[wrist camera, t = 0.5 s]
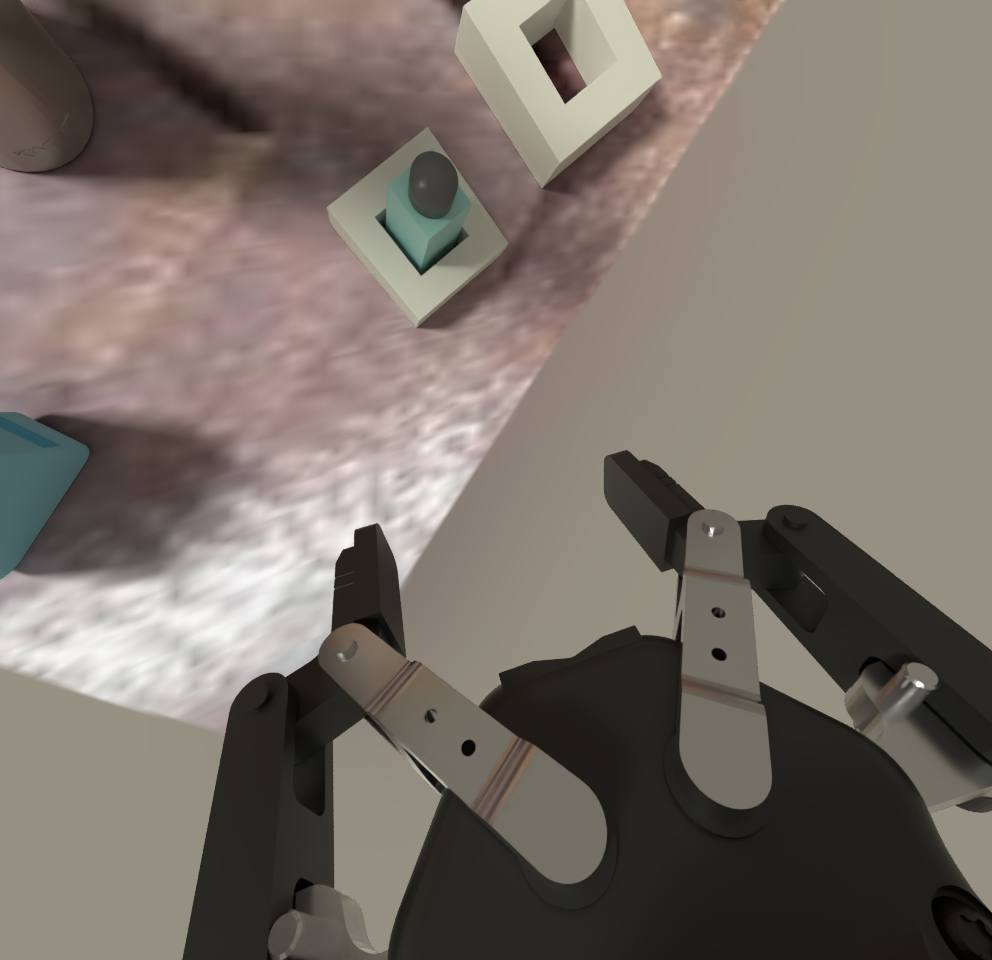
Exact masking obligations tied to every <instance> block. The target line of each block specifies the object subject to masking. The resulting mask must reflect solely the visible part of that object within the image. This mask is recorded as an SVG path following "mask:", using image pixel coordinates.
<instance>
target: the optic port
mask: <svg viewBox="0 0 992 960" xmlns="http://www.w3.org/2000/svg"><path fill="white" fill-rule="evenodd" d="M553 28H555V30H556V32H557V33H558V35H559V37H560V39H561V41H562V42H563V44H564V46H565V48H566V49H567V51H568V53H569V55H570V57H571V58H572V60H573V62H574V64H575V65H576V67H577V69H578V71H579V73H580V74H581V76H582V78H583V80H584V82H585V83H586V85H587V87H586V88H585V89H583V90H582V91H581V92H580V93H579V94H577V95H576V96H575V97H574V98H572V99H571V100H570V101H569V102H568V103H566V104H564V102H563V100H562V99H561V97H560V95H559V94H558V92H557V90H556V88H555V87H554V85H553V83H552V82H551V80H550V78H549V76H548V75H547V73H546V71H545V70H544V68H543V66H542V65H541V63H540V61H539V59H538V58H537V56H536V54H535V53H534V51H533V49H532V47H531V46H532V45H533V44H535V43H536V42H537V41H538V40H540V39H541V38H542V37H543V36H545V35H546V34H547V33H548V32H550V31H551V30H552V29H553ZM454 53H455V55H456V56H457V58H458V59H459V61H460V62H461V64H462V66H463V67H464V69H465V70H466V72H467V73H468V75H469V77H470V78H471V80H472V81H473V83H474V84H475V86H476V87H477V89H478V91H479V92H480V94H481V95H482V97H483V98H484V100H485V101H486V103H487V105H488V106H489V108H490V109H491V111H492V112H493V114H494V115H495V117H496V119H497V120H498V122H499V123H500V125H501V126H502V128H503V129H504V131H505V133H506V134H507V136H508V137H509V139H510V140H511V142H512V144H513V145H514V147H515V148H516V150H517V151H518V153H519V154H520V156H521V158H522V159H523V161H524V162H525V164H526V165H527V167H528V168H529V170H530V172H531V173H532V175H533V176H534V178H535V179H536V181H537V182H538V184H539V186H540V187H541V189H542V188H543V187H544V186H546V185H547V184H548V183H549V182H550V181H551V180H553V179H554V178H555V177H556V176H557V175H558V174H560V173H561V172H562V171H563V170H564V169H566V168H567V167H568V166H569V165H570V164H571V163H573V162H574V161H575V160H576V159H577V158H578V157H580V156H581V155H582V154H583V153H584V152H586V151H587V150H588V149H589V148H590V147H591V146H593V145H594V144H595V143H596V142H597V141H598V140H600V139H601V138H602V137H603V136H604V135H606V134H607V133H608V132H609V131H610V130H611V129H613V128H614V127H615V126H616V125H617V124H618V123H620V122H621V121H622V120H623V119H624V118H626V117H627V116H628V115H629V114H630V113H631V112H633V111H634V110H635V109H636V107H637V106H638V105H639V104H640V103H641V101H642V100H643V99H644V98H645V97H646V95H647V94H648V93H649V92H650V91H651V89H652V88H653V87H654V86H655V85H656V84H657V82H658V81H659V80H660V79H661V78H662V76H661V74H660V72H659V70H658V68H657V66H656V64H655V62H654V60H653V58H652V56H651V54H650V52H649V50H648V48H647V46H646V44H645V42H644V40H643V38H642V36H641V34H640V32H639V30H638V28H637V26H636V24H635V22H634V20H633V18H632V16H631V14H630V12H629V10H628V8H627V6H626V4H625V2H624V0H471V1H470V2H468V3H467V4H466V5H464V6H463V11H462V16H461V21H460V26H459V31H458V36H457V40H456V45H455V50H454Z"/></svg>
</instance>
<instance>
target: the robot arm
mask: <svg viewBox="0 0 992 960" xmlns="http://www.w3.org/2000/svg"><path fill="white" fill-rule="evenodd" d="M92 127H93V106H92V101H91V97H90V93H89V90H88V88H87V86H86V84H85V81H84V79H83V77H82V75H81V73H80V72H79V70H78V69H77V67H76V66H75V64H74V63H73V62H72V60H71V59H70V58H69V56H68V55H67V54H66V53H65V52H64V51H63V50H62V48H61V47H60V46H59V45H58V44H57V43H56V42H55V40H54V39H53V38H52V37H51V36H50V35H49V34H48V32H47V31H46V30H45V29H44V28H43V27H42V26H41V24H40V23H39V22H38V21H37V20H36V19H35V17H34V16H33V15H32V14H31V13H30V12H29V11H28V9H27V8H26V7H25V6H24V5H23V3H22V2H21V1H20V0H0V167H3V168H7V169H11V170H18V171H25V172H34V171H46V170H50V169H54V168H58V167H61V166H62V165H64V164H66V163H68V162H70V161H72V160H73V159H74V158H75V157H76V156H77V155H78V154H79V153H80V152H81V151H82V150H83V149H84V147H85V145H86V144H87V142H88V140H89V138H90V135H91V131H92ZM604 494H605V498H606V500H607V503H608V505H609V506H610V508H611V509H612V510H613V511H614V513H615V514H616V515H617V516H618V518H619V519H620V520H621V522H622V523H623V524H624V525H625V527H626V528H627V529H628V530H629V532H630V533H631V534H632V535H633V537H634V538H635V539H636V541H637V542H638V543H639V544H640V546H641V547H642V548H643V549H644V551H645V552H646V553H647V554H648V556H649V557H650V558H651V560H652V561H653V562H654V563H655V565H656V566H657V567H658V568H659V570H660V571H661V572H664V571H667V570H670V569H673V568H674V569H675V570H676V572H677V573H678V577H677V589H676V601H675V615H674V627H673V636H672V639H670V638H666V637H660V636H652V635H640V633H639V631H638V630H637V628H636V627H635V626H631V627H629V628H626V629H623V630H620V631H617V632H614V633H612V634H609V635H606V636H603V637H601V638H600V639H599V640H597V641H596V642H594V643H593V644H591V645H590V646H588V647H587V648H586V649H584V650H583V651H581V652H580V653H578V654H577V655H576V656H574V657H571V658H566V659H554V660H543V661H532V662H530V663H527V664H524V665H521V666H518V667H515V668H513V669H510V670H507V671H504V672H502V673H499V677H500V680H501V685H499V686H498V687H497V688H495V689H494V690H493V691H492V692H491V693H490V694H488V696H487V697H486V698H485V699H484V700H483V701H482V702H481V704H480V705H479V707H478V706H477V705H475V704H474V703H473V702H471V701H470V700H469V699H467V698H466V697H465V696H464V695H462V694H461V693H460V692H458V691H457V690H456V689H454V688H453V687H452V686H450V685H449V684H448V683H447V682H445V681H444V680H442V679H441V678H440V677H439V676H437V675H436V674H435V673H433V672H432V671H431V670H430V669H428V668H427V667H426V666H424V665H423V664H421V663H420V662H418V661H414V662H410V661H409V660H407V659H406V651H405V642H404V631H403V621H402V611H401V601H400V591H399V581H398V571H397V566H396V562H395V559H394V556H393V553H392V551H391V549H390V547H389V545H388V542H387V540H386V538H385V536H384V534H383V531H382V529H381V527H380V525H379V524H378V523H376V524H373V525H369V526H366V527H363V528H359V529H356V530H355V532H354V547H350V548H347V549H344V550H343V551H342V552H341V554H340V556H339V558H338V560H337V562H336V567H335V582H334V588H335V590H334V598H333V614H332V630H331V634H330V635H329V636H328V637H327V638H326V639H325V640H324V642H323V643H322V645H321V647H320V650H319V654H318V655H317V656H316V657H315V658H314V659H313V660H312V661H310V662H309V663H307V664H306V665H304V666H303V667H301V668H299V669H298V670H296V671H295V672H293V673H292V674H290V675H288V676H287V677H284V676H283V675H281V674H279V673H267V674H263V675H261V676H259V677H257V678H255V679H253V680H252V681H251V682H249V683H248V684H247V685H246V686H245V687H244V688H243V689H242V690H241V691H240V692H239V694H238V695H237V696H236V698H235V700H234V701H233V703H232V706H231V708H230V712H229V717H228V723H227V728H226V733H225V739H224V744H223V749H222V754H221V759H220V765H219V770H218V775H217V781H216V786H215V791H214V796H213V802H212V807H211V812H210V817H209V823H208V828H207V833H206V839H205V844H204V849H203V854H202V860H201V865H200V870H199V875H198V881H197V886H196V891H195V896H194V902H193V907H192V912H191V917H190V923H189V928H188V934H187V939H186V944H185V949H184V954H183V960H992V912H991V911H990V910H989V909H988V908H987V907H986V906H985V905H984V903H983V902H982V901H981V900H980V898H979V897H978V896H977V895H976V894H975V892H974V891H973V890H972V888H971V887H970V885H969V884H968V882H967V881H966V879H965V878H964V877H963V875H962V873H961V872H960V870H959V869H958V867H957V865H956V864H955V862H954V860H953V859H952V857H951V855H950V854H949V852H948V850H947V849H946V847H945V845H944V843H943V841H942V839H941V837H940V835H939V833H938V831H937V829H936V827H935V825H934V822H933V820H932V817H931V815H930V814H931V813H933V812H937V811H939V810H942V809H945V808H948V807H951V806H954V805H956V806H958V807H960V808H962V809H965V810H968V811H973V812H980V813H983V812H989V811H992V651H991V650H990V649H989V648H988V647H986V646H985V645H984V644H982V643H981V642H980V641H979V640H977V639H976V638H975V637H974V636H972V635H971V634H969V633H968V632H967V631H966V630H965V629H963V628H962V627H961V626H959V625H958V624H957V623H955V622H954V621H953V620H952V619H950V618H949V617H948V616H946V615H945V614H944V613H943V612H941V611H940V610H939V609H938V608H936V607H935V606H934V605H932V604H931V603H930V602H929V601H927V600H926V599H925V598H923V597H922V596H921V595H920V594H918V593H917V592H916V591H914V590H913V589H912V588H911V587H909V586H908V585H907V584H905V583H904V582H903V581H902V580H900V579H899V578H898V577H896V576H895V575H894V574H893V573H891V572H890V571H889V570H887V569H886V568H885V567H884V566H882V565H881V564H880V563H878V562H877V561H876V560H875V559H873V558H872V557H871V556H869V555H868V554H867V553H865V552H864V551H863V550H862V549H860V548H859V547H858V546H856V545H855V544H854V543H852V542H851V541H850V540H848V538H846V537H845V536H844V535H842V534H841V533H840V532H838V531H837V530H836V529H835V528H833V527H832V526H831V525H830V524H828V523H827V522H826V521H824V520H823V519H822V518H821V517H819V516H818V515H816V514H815V513H813V512H812V511H810V510H808V509H805V508H802V507H799V506H794V505H780V506H776V507H773V508H772V509H771V510H769V512H768V513H767V517H766V519H765V520H748V521H736V520H735V519H734V518H733V517H731V516H730V515H728V514H726V513H724V512H721V511H717V510H711V509H705V508H704V507H703V506H702V505H700V504H699V503H698V502H697V501H696V500H695V499H694V498H693V497H692V496H691V495H690V494H688V493H687V492H686V491H685V490H684V489H683V488H682V487H681V486H680V485H679V484H676V482H675V480H673V479H672V478H671V477H669V476H668V474H667V473H666V472H665V471H664V470H663V469H661V468H660V467H659V466H658V465H656V464H653V463H651V462H649V461H647V460H642V461H638V460H637V458H635V457H634V456H633V455H632V454H631V453H630V452H629V451H627V450H625V451H622V452H618V453H615V454H611V455H608V456H606V457H605V459H604ZM804 574H805V575H806V576H807V577H809V578H810V579H811V580H812V581H813V582H814V583H815V584H816V585H817V586H818V587H819V588H820V589H821V590H822V591H823V592H824V593H825V594H824V593H823V592H821V591H820V590H819V589H818V588H817V587H816V586H815V585H814V584H813V583H812V582H811V581H810V580H809V579H808V578H807V577H806V576H805V575H804ZM751 589H753V590H754V591H755V592H756V593H757V594H758V596H759V597H760V598H761V599H762V600H763V601H764V602H765V603H766V604H767V606H768V607H769V608H770V609H771V610H772V611H773V612H774V614H775V615H776V616H777V617H778V618H779V619H780V620H781V621H782V622H783V624H784V625H785V626H786V627H787V628H788V629H789V630H790V631H791V633H792V634H793V635H794V636H795V637H796V638H797V639H798V640H799V642H800V643H801V644H802V645H803V646H804V647H805V648H806V649H807V650H808V652H809V653H810V654H811V655H812V656H813V657H814V658H815V659H816V661H817V662H818V663H819V664H820V665H821V666H822V667H823V668H824V669H825V671H826V672H827V673H828V674H829V675H830V676H831V677H832V679H833V680H834V681H835V682H836V683H837V684H838V685H839V686H840V687H841V689H843V691H844V692H845V693H846V694H845V700H844V701H845V706H846V709H847V712H848V713H849V715H850V717H851V718H852V720H853V725H854V728H855V729H853V728H851V727H850V726H848V725H846V724H844V723H842V722H840V721H838V720H836V719H834V718H832V717H830V716H828V715H826V714H824V713H822V712H820V711H818V710H816V709H814V708H812V707H810V706H808V705H806V704H804V703H802V702H800V701H798V700H796V699H793V698H792V697H790V696H788V695H786V694H784V693H782V692H779V691H778V690H775V689H774V688H772V687H769V686H768V685H766V684H764V683H762V682H760V681H759V676H758V666H757V653H756V641H755V630H754V619H753V606H752V595H751ZM362 718H364V719H365V720H366V721H367V722H368V723H369V724H370V725H371V726H372V727H373V728H374V729H375V730H376V731H377V732H378V733H379V734H380V735H381V736H382V737H383V738H384V739H385V740H387V742H388V743H390V745H391V746H392V747H394V749H395V750H396V751H397V752H399V753H400V754H401V755H402V756H403V758H404V759H405V760H406V761H407V762H408V763H409V764H410V765H411V766H412V767H413V768H414V769H415V771H416V772H417V773H418V774H419V775H420V776H421V777H422V778H423V779H424V780H425V781H426V782H427V783H428V784H429V785H430V786H431V787H432V788H433V789H434V790H435V791H436V792H437V793H438V794H439V795H440V796H441V799H440V802H439V804H438V807H437V810H436V812H435V815H434V818H433V820H432V823H431V825H430V828H429V831H428V834H427V836H426V839H425V841H424V844H423V847H422V849H421V852H420V855H419V857H418V860H417V862H416V865H415V868H414V871H413V873H412V876H411V878H410V881H409V884H408V886H407V889H406V892H405V894H404V897H403V899H402V902H401V905H400V907H399V910H398V913H397V916H396V919H395V922H394V925H393V929H392V933H391V938H390V943H389V949H388V950H387V951H385V952H382V953H378V952H377V951H376V950H375V949H374V948H373V947H372V945H371V943H370V941H369V939H368V937H367V933H366V930H365V924H364V918H363V914H362V911H361V908H360V907H359V904H358V903H357V902H356V901H355V899H353V898H352V897H351V896H349V895H347V894H344V893H342V892H340V891H338V890H335V889H334V830H333V829H334V825H333V823H334V821H333V740H334V739H335V738H337V737H338V736H339V735H341V734H342V733H343V732H345V731H346V730H347V729H349V728H350V727H352V726H353V725H354V724H356V723H357V722H358V721H360V720H361V719H362Z"/></svg>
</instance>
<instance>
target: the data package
mask: <svg viewBox="0 0 992 960" xmlns="http://www.w3.org/2000/svg"><path fill="white" fill-rule="evenodd" d="M88 457H89V448H88V447H87V446H86V445H84V444H82V443H80V442H78V441H76V440H74V439H72V438H70V437H68V436H66V435H64V434H62V433H60V432H58V431H56V430H54V429H52V428H49V427H47V426H45V425H43V424H41V423H39V422H37V421H35V420H33V419H31V418H29V417H27V416H25V415H23V414H21V413H16V412H0V580H1V579H2V578H4V577H5V576H6V575H7V574H9V573H10V572H11V571H12V570H13V569H14V568H15V567H16V566H17V565H18V564H19V562H20V561H21V560H22V558H23V557H24V555H25V554H26V552H27V551H28V549H29V548H30V546H31V545H32V543H33V542H34V540H35V539H36V537H37V536H38V534H39V532H40V531H41V529H42V528H43V526H44V525H45V523H46V522H47V520H48V519H49V517H50V516H51V514H52V513H53V511H54V510H55V508H56V507H57V505H58V504H59V502H60V501H61V499H62V498H63V496H64V495H65V493H66V492H67V490H68V489H69V487H70V486H71V484H72V483H73V481H74V480H75V478H76V477H77V475H78V474H79V472H80V471H81V469H82V467H83V466H84V464H85V463H86V461H87V459H88Z"/></svg>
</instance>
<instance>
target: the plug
mask: <svg viewBox="0 0 992 960" xmlns="http://www.w3.org/2000/svg"><path fill="white" fill-rule="evenodd" d="M471 205H472V203H471V201H470V200H469V199H468V197H467V196H466V194H465V193H464V192H463V190H462V189H461V187H460V186H459V184H458V175H457V172H456V169H455V167H454V166H453V164H452V163H451V161H450V160H449V159H448V158H447V157H445V156H444V155H442V154H440V153H438V152H435V150H434V149H433V148H432V149H431V150H430V151H426V152H423V153H421V154H419V155H418V156H417V157H416V158H415V159H414V161H413V163H412V165H411V166H410V167H409V168H407V169H406V170H405V171H404V172H403V173H401V174H400V175H399V176H398V177H396V178H395V179H394V180H393V181H391V182H390V183H389V184H388V185H387V205H386V232H387V233H388V235H389V236H390V237H391V239H392V240H393V241H394V242H395V244H396V245H397V246H398V247H399V249H400V250H401V251H402V252H403V254H404V255H405V256H406V258H407V259H408V260H409V261H410V263H411V264H412V265H413V266H414V268H415V269H416V270H417V271H418V273H419V274H420V275H421V274H423V273H424V272H425V271H426V270H427V269H428V268H430V267H431V266H432V265H433V264H434V263H436V262H437V261H438V260H439V259H440V258H441V257H443V256H444V255H445V254H446V253H447V252H449V251H450V250H451V249H452V248H453V246H454V244H455V241H456V239H457V237H458V235H459V232H460V230H461V228H462V225H463V223H464V221H465V219H466V216H467V214H468V212H469V210H470V207H471Z"/></svg>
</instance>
